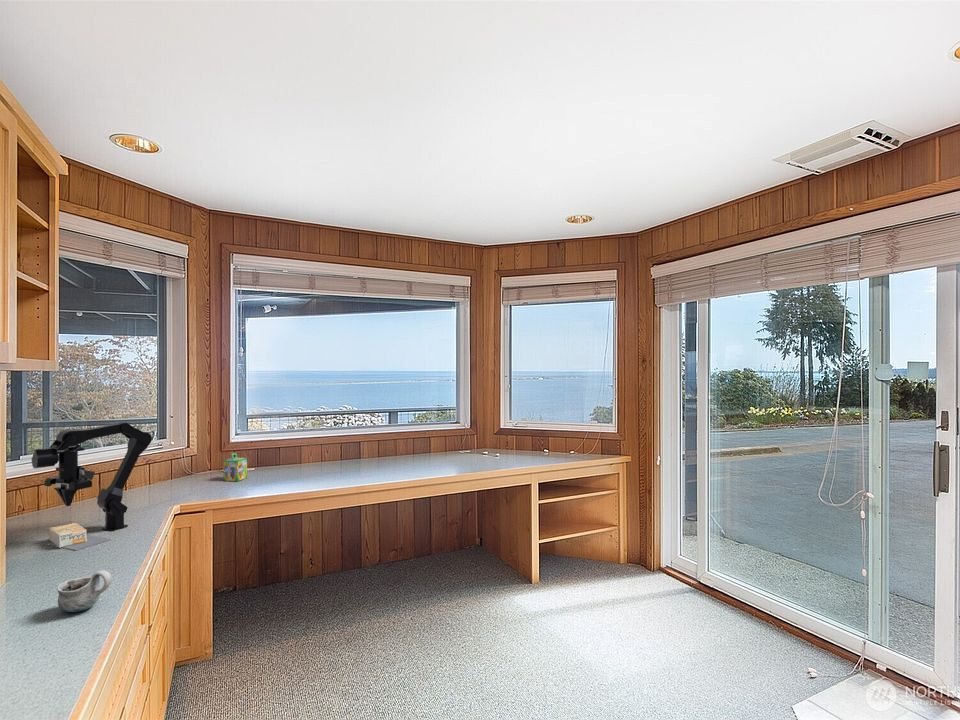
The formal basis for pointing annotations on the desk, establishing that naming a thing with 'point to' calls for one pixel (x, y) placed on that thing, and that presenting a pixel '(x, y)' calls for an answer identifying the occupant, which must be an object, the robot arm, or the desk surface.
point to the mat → (85, 543)
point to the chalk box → (234, 468)
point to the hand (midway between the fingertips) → (68, 505)
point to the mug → (82, 592)
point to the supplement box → (68, 535)
